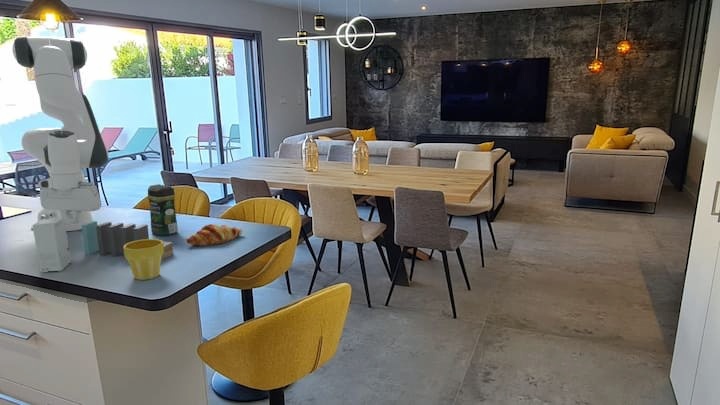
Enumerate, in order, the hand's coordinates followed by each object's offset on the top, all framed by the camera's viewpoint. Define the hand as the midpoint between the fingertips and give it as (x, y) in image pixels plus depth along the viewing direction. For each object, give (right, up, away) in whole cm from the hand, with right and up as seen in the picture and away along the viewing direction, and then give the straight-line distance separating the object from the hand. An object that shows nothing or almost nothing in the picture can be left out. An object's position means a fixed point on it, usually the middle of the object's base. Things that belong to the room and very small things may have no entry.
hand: (73, 223), depth 155 cm
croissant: (+43, -8, +14) cm, 46 cm away
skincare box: (+2, -13, -13) cm, 19 cm away
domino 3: (+15, -10, 0) cm, 18 cm away
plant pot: (+33, -15, -19) cm, 41 cm away
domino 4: (+20, -10, -1) cm, 22 cm away
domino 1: (+5, -10, +2) cm, 11 cm away
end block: (+30, -11, -3) cm, 32 cm away
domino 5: (+24, -11, -2) cm, 26 cm away
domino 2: (+11, -10, 0) cm, 15 cm away
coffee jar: (+20, -5, +23) cm, 31 cm away
